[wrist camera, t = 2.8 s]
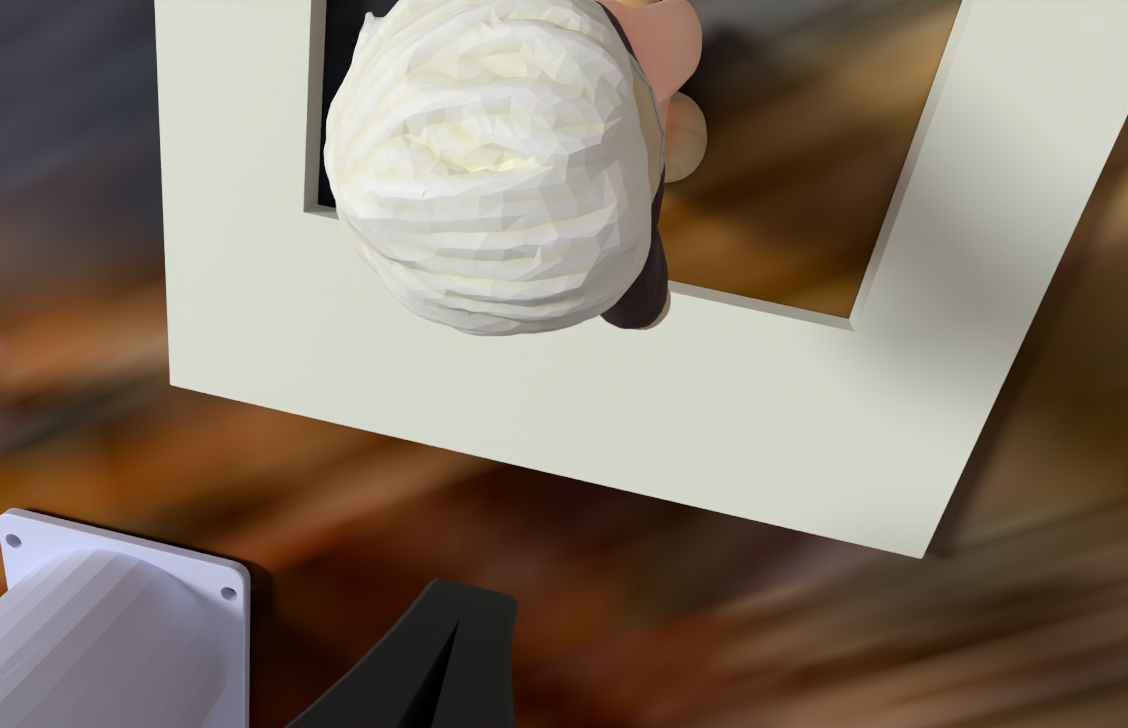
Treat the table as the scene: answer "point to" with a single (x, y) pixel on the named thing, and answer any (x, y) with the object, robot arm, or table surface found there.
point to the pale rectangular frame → (697, 315)
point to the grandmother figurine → (517, 157)
